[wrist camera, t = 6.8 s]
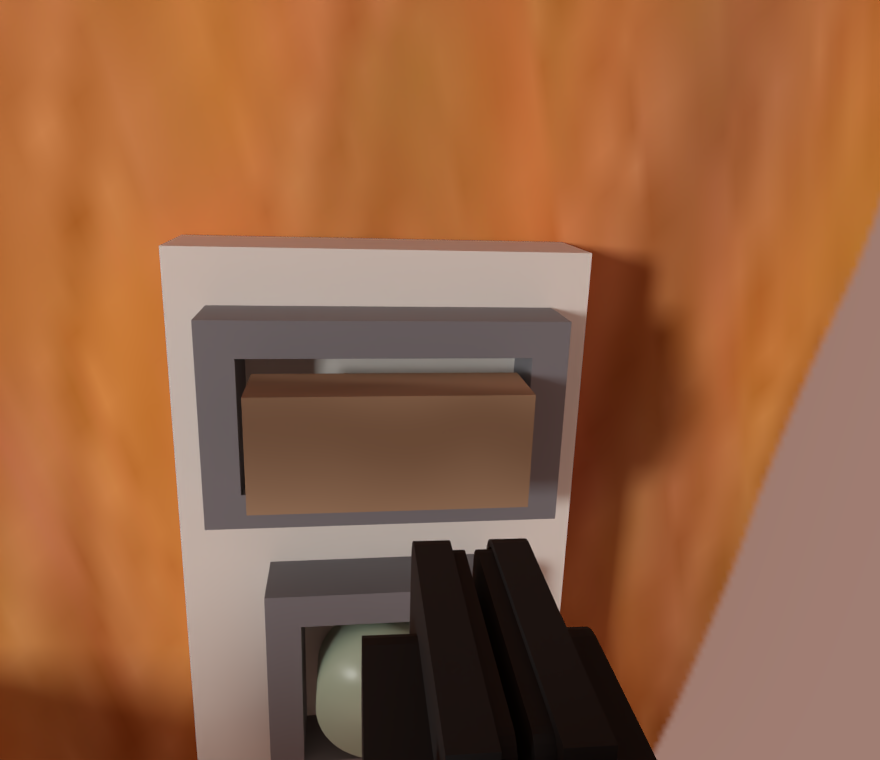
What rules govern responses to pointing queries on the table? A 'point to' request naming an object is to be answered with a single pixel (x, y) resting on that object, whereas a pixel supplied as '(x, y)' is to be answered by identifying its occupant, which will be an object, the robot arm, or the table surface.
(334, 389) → the key
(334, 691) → the button sage
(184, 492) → the control panel
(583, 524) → the table surface
